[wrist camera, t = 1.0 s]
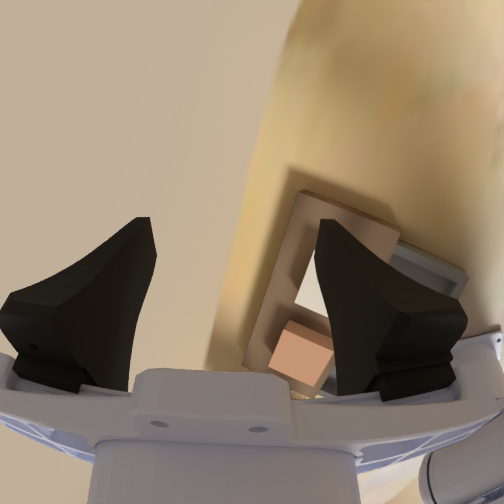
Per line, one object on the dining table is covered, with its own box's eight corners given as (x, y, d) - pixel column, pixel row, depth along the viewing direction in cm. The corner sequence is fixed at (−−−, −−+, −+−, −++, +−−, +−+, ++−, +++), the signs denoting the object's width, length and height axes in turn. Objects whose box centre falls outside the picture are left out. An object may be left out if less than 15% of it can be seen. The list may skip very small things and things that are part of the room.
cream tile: (373, 267, 23) (373, 275, 22) (350, 315, 25) (348, 325, 24) (318, 244, 25) (314, 250, 23) (299, 293, 27) (294, 302, 25)
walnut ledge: (399, 227, 23) (401, 233, 21) (317, 387, 31) (313, 399, 30) (303, 189, 26) (297, 191, 24) (248, 355, 34) (241, 365, 32)
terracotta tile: (337, 340, 26) (333, 351, 25) (317, 375, 28) (313, 387, 27) (289, 319, 28) (283, 329, 26) (274, 356, 30) (267, 366, 28)
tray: (463, 269, 22) (469, 278, 20) (376, 404, 29) (374, 416, 27) (395, 238, 24) (396, 244, 22) (321, 382, 31) (316, 394, 29)
